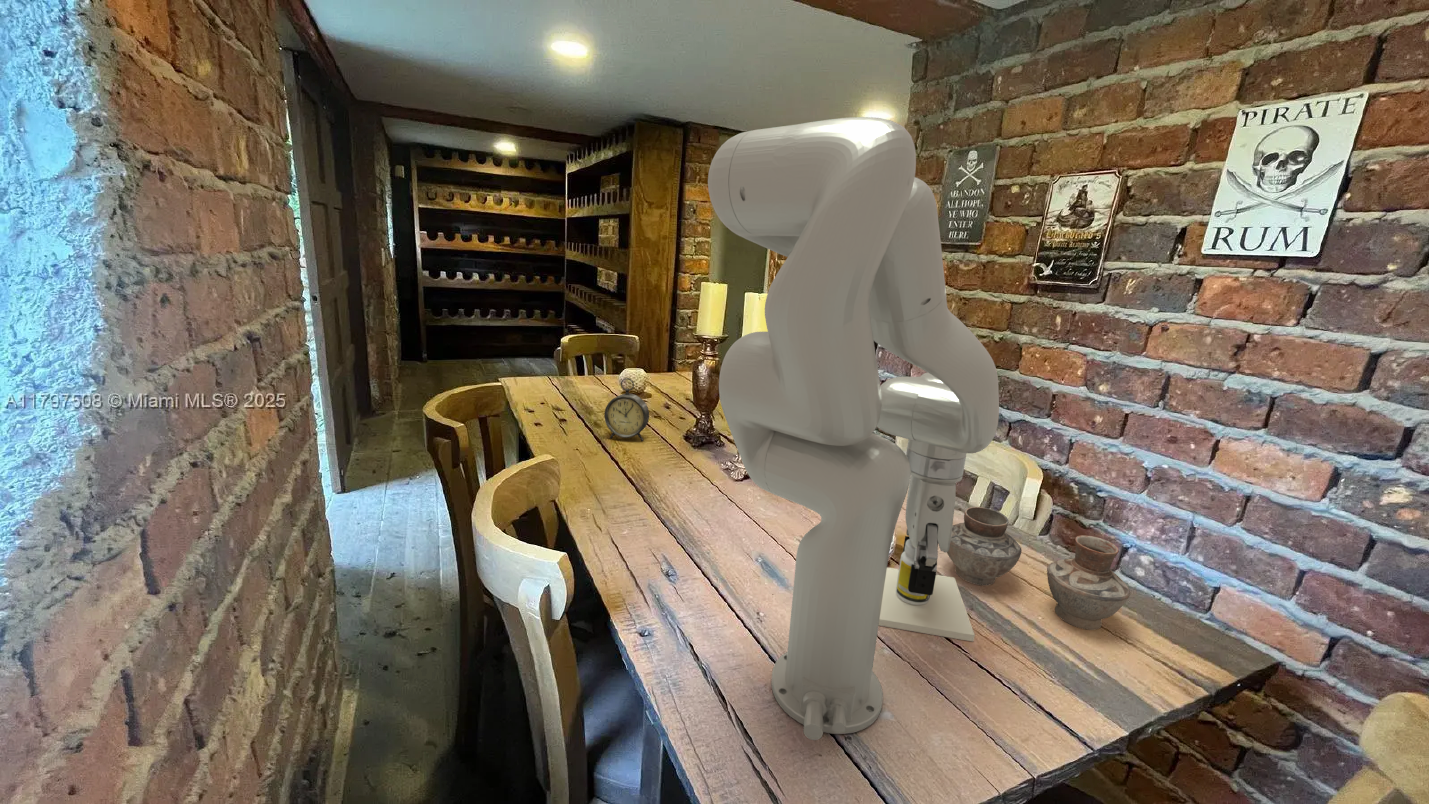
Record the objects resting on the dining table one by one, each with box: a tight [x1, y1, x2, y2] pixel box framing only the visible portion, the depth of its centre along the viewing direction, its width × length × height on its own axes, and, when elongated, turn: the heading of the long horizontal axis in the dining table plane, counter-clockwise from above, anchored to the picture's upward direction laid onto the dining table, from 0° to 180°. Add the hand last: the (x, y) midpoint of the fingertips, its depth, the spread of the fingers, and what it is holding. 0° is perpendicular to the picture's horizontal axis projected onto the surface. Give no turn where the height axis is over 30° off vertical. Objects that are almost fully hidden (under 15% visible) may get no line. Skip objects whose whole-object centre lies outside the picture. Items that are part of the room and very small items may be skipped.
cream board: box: [878, 566, 976, 643], centre depth 82 cm, size 14×14×1 cm
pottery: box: [946, 506, 1131, 631], centre depth 84 cm, size 11×25×12 cm, turn 47°
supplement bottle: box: [896, 539, 930, 605], centre depth 81 cm, size 5×5×8 cm
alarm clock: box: [603, 377, 650, 442], centre depth 144 cm, size 11×5×16 cm, turn 81°
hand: (916, 575), depth 81 cm, fingers open, 7 cm apart
